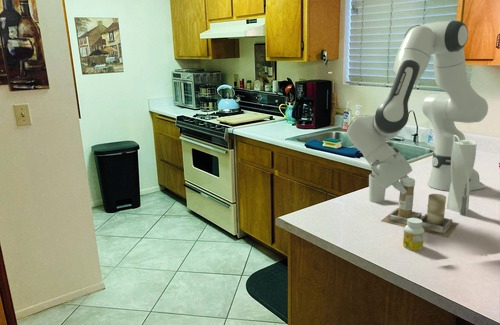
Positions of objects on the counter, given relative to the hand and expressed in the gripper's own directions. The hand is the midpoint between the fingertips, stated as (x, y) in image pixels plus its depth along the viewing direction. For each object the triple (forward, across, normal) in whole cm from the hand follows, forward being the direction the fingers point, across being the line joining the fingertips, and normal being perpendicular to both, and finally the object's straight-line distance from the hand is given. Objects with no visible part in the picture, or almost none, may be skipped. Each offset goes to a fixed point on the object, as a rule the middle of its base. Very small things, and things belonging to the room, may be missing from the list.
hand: (408, 190), depth 132 cm
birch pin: (+14, 0, +1) cm, 14 cm away
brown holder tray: (+11, 0, +5) cm, 12 cm away
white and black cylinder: (-4, +16, +20) cm, 26 cm away
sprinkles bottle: (+6, 0, +7) cm, 10 cm away
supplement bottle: (+14, -19, +3) cm, 24 cm away
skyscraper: (+16, +19, 0) cm, 25 cm away
